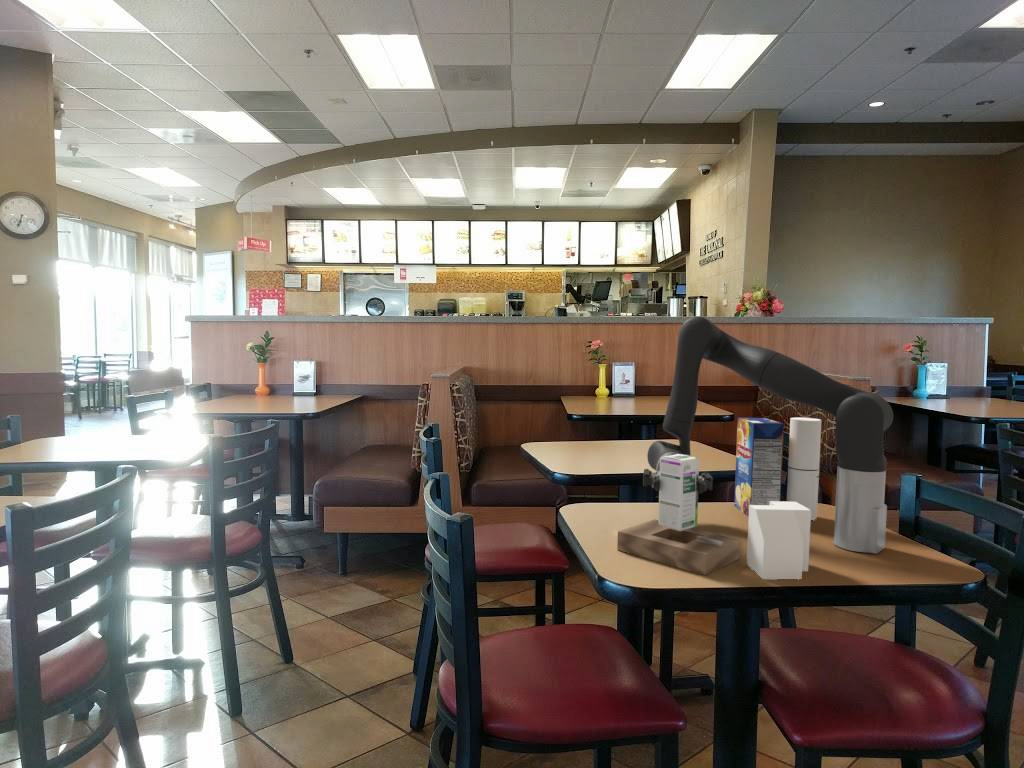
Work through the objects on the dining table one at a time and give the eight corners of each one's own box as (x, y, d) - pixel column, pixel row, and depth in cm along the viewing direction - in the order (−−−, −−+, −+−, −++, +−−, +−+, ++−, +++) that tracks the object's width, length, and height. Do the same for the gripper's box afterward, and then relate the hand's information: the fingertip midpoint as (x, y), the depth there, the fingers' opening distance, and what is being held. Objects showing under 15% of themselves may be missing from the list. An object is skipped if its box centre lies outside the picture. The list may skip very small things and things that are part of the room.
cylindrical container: (779, 514, 167) (784, 418, 165) (799, 512, 170) (804, 417, 168) (802, 521, 161) (807, 421, 159) (823, 519, 164) (827, 420, 162)
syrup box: (680, 532, 130) (683, 460, 129) (656, 524, 134) (659, 455, 133) (697, 527, 134) (700, 457, 132) (673, 520, 138) (676, 452, 137)
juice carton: (734, 505, 176) (737, 417, 174) (761, 506, 175) (765, 417, 174) (749, 517, 164) (753, 423, 162) (779, 518, 164) (783, 423, 162)
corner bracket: (793, 559, 132) (795, 501, 131) (819, 580, 121) (822, 516, 120) (740, 559, 132) (743, 500, 131) (762, 579, 121) (764, 515, 120)
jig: (739, 558, 132) (740, 535, 132) (705, 575, 122) (705, 550, 122) (654, 536, 146) (654, 515, 146) (617, 550, 136) (617, 527, 136)
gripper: (642, 452, 148) (644, 467, 132) (707, 456, 146) (717, 471, 130) (641, 485, 149) (642, 503, 133) (705, 489, 147) (715, 507, 131)
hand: (679, 487), depth 131 cm, fingers closed on syrup box, 8 cm apart
